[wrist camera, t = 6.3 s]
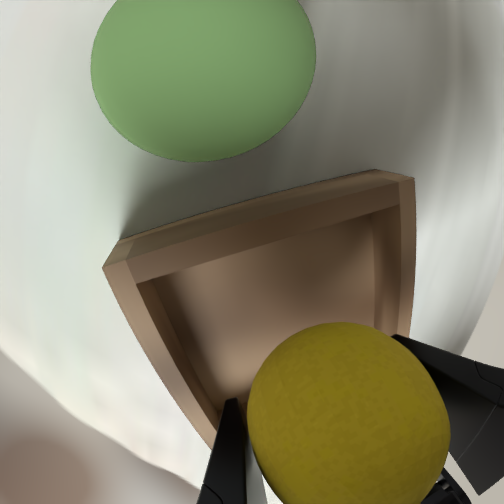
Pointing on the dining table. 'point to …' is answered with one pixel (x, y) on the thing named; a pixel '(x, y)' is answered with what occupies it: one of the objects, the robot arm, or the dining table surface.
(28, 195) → the dining table surface
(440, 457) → the lemon
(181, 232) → the walnut tray
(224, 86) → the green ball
